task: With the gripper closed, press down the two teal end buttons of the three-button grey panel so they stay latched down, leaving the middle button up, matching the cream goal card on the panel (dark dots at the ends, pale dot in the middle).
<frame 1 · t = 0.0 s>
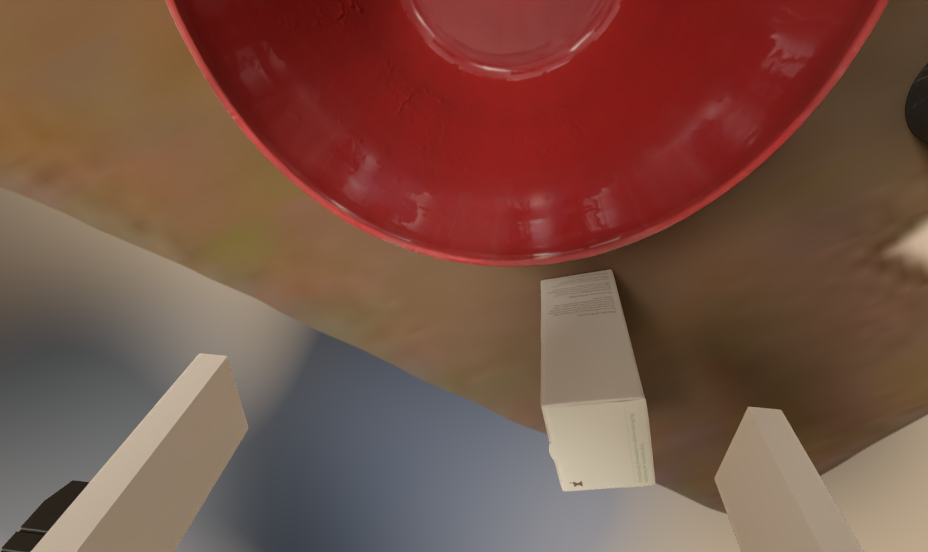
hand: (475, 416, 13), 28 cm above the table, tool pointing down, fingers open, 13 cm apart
skincare box: (579, 308, 45), on the table
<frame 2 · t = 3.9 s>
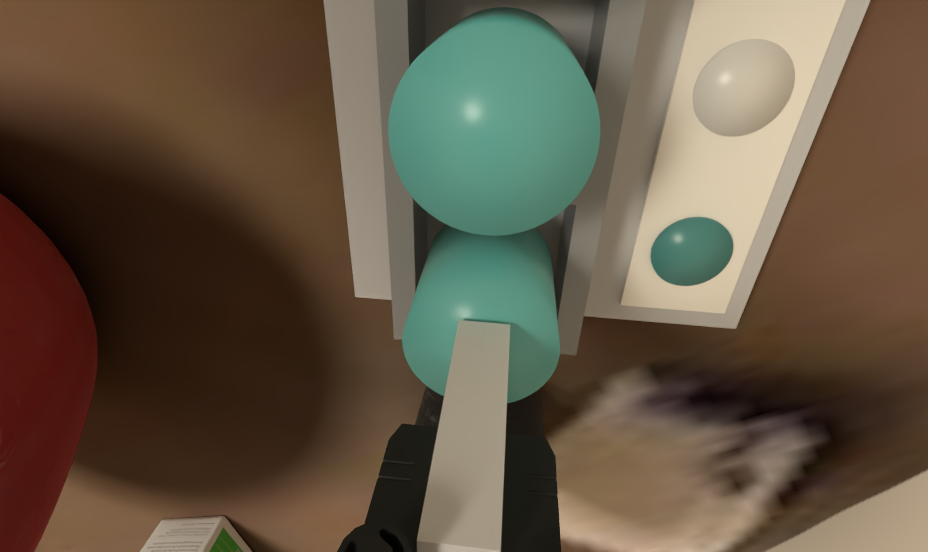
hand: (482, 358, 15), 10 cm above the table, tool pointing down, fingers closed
button 3: (485, 302, 17), point 7 cm above the table, slide at 0.4 cm, touching gripper
travel mug: (482, 400, 30), on the table
button panel: (568, 69, 20), on the table
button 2: (496, 114, 13), point 8 cm above the table, slide at 0.0 cm
skincare box: (215, 541, 42), on the table
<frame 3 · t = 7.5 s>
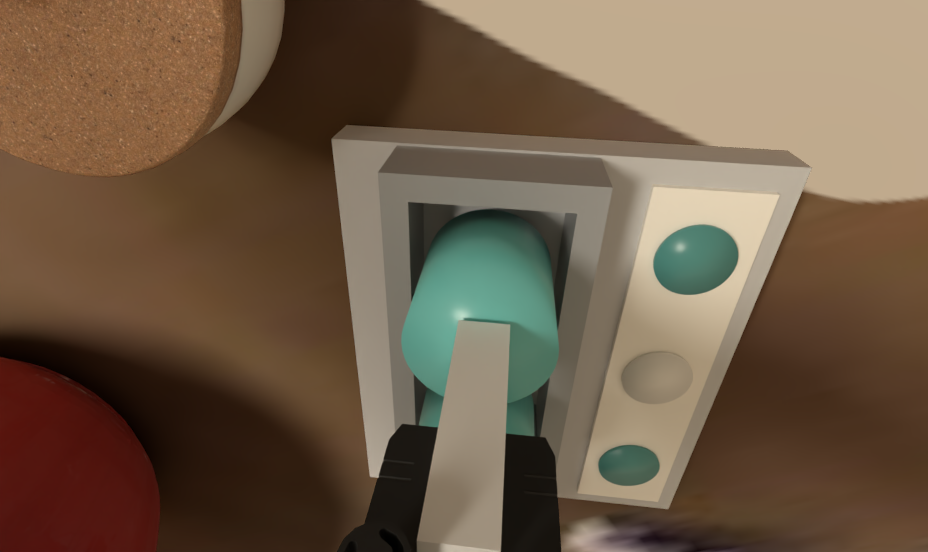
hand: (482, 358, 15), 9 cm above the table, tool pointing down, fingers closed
mixing bowl: (52, 426, 35), on the table
button panel: (533, 336, 26), on the table
button 1: (484, 302, 17), point 7 cm above the table, slide at 1.1 cm, touching gripper
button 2: (474, 450, 20), point 8 cm above the table, slide at 0.0 cm
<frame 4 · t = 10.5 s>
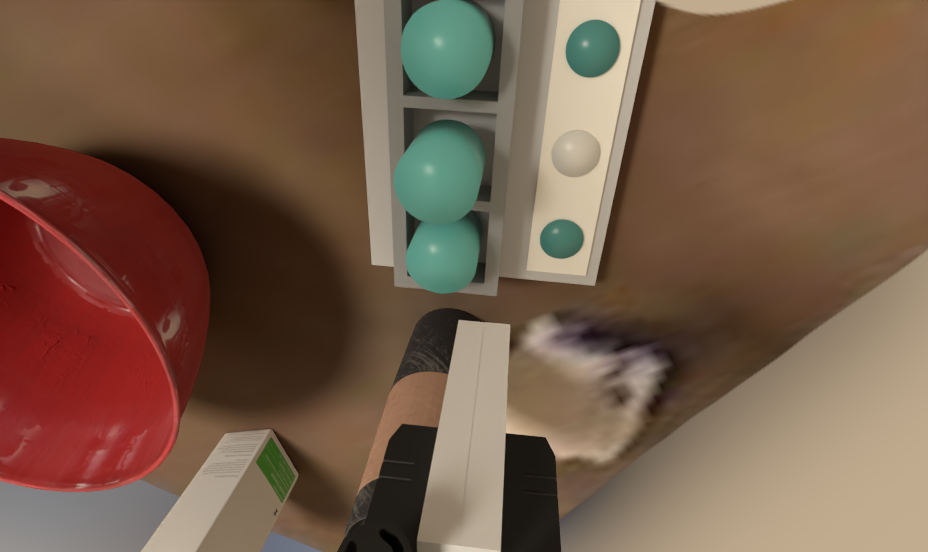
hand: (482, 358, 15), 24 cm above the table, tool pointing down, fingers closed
button 3: (446, 246, 35), point 5 cm above the table, slide at 2.5 cm
travel mug: (451, 337, 46), on the table
mixing bowl: (126, 242, 45), on the table
button panel: (492, 137, 36), on the table
button 1: (451, 46, 28), point 5 cm above the table, slide at 2.5 cm
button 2: (442, 170, 30), point 8 cm above the table, slide at 0.0 cm
skincare box: (262, 451, 58), on the table
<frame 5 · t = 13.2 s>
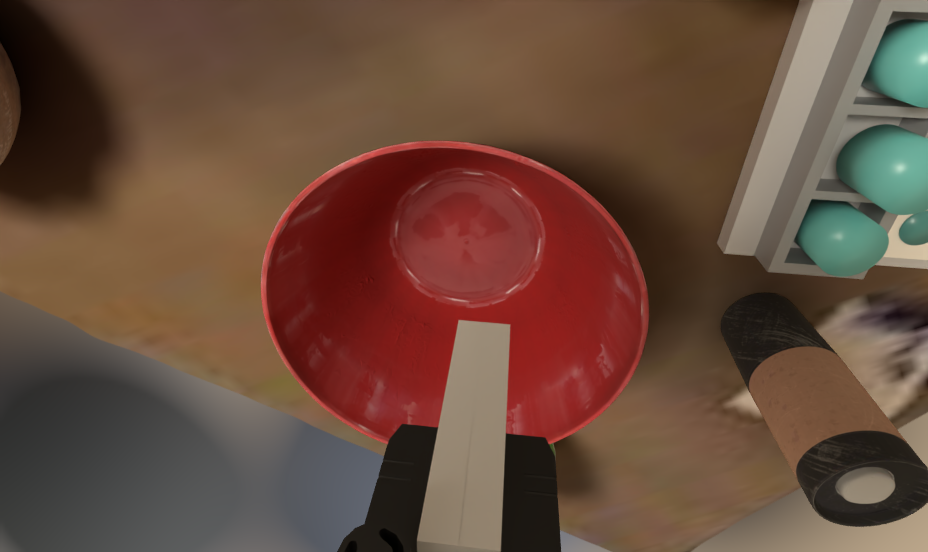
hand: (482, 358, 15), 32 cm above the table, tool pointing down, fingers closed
button 3: (835, 235, 40), point 5 cm above the table, slide at 2.5 cm
travel mug: (756, 319, 51), on the table
mixing bowl: (470, 237, 50), on the table
button panel: (868, 139, 41), on the table
button 1: (918, 62, 33), point 5 cm above the table, slide at 2.5 cm
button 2: (894, 168, 34), point 8 cm above the table, slide at 0.0 cm
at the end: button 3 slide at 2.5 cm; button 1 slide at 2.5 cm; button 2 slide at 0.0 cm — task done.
